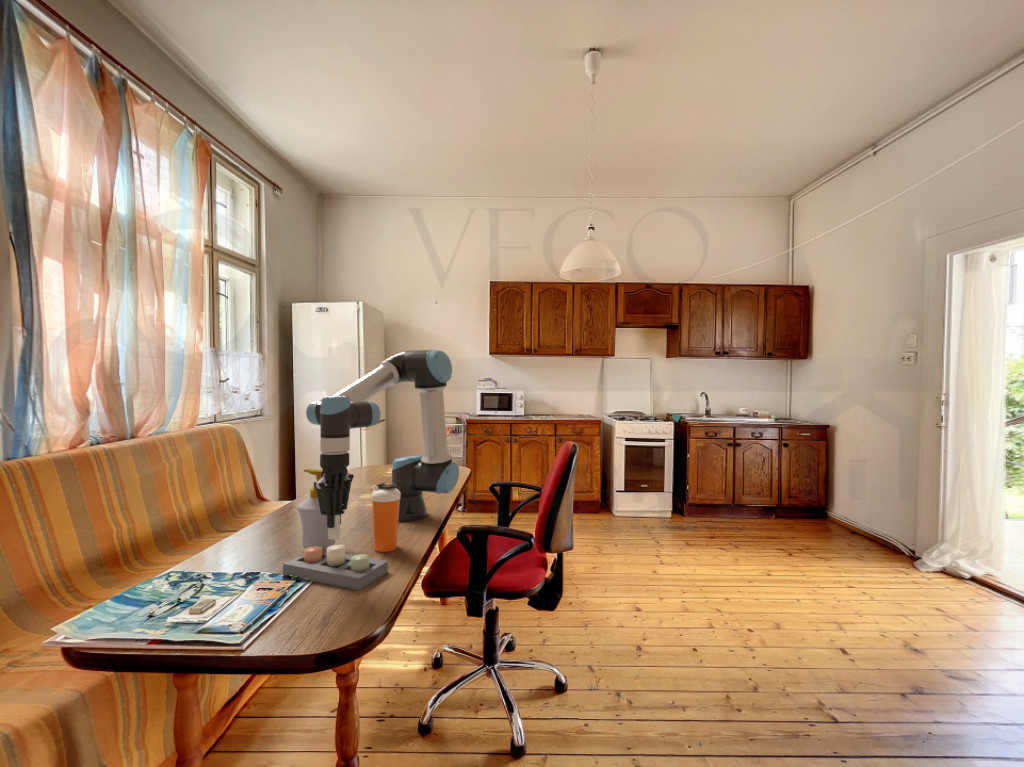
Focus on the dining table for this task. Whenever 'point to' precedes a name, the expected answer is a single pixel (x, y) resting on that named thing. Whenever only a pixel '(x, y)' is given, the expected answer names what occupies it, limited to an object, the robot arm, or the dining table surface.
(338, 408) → the robot arm
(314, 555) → the brown egg
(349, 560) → the panel
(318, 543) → the soap bottle
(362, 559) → the pale green rounded knob
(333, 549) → the cream egg
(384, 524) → the shaker bottle
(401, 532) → the dining table surface
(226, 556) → the dining table surface
